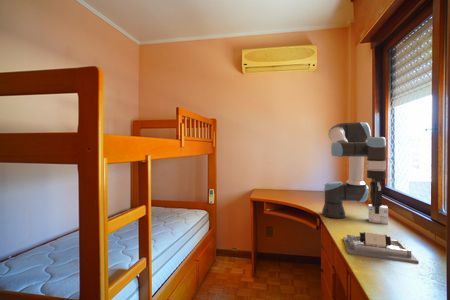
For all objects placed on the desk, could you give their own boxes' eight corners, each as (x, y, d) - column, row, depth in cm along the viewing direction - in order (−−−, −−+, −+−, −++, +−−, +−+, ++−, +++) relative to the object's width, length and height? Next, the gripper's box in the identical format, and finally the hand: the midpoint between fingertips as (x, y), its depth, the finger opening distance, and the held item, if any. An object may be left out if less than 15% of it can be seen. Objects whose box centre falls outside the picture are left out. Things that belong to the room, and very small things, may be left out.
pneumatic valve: (358, 232, 117) (360, 231, 107) (387, 235, 112) (391, 235, 102) (359, 244, 116) (360, 244, 106) (388, 248, 111) (392, 248, 100)
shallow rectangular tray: (346, 239, 121) (346, 234, 121) (401, 245, 113) (401, 240, 112) (350, 249, 109) (350, 243, 109) (411, 257, 101) (411, 251, 101)
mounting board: (342, 238, 124) (342, 237, 124) (402, 245, 115) (402, 243, 115) (348, 253, 106) (348, 251, 106) (418, 263, 97) (418, 261, 97)
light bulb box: (387, 222, 153) (387, 205, 153) (388, 225, 147) (388, 207, 147) (368, 219, 158) (368, 203, 158) (368, 222, 152) (368, 205, 152)
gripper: (364, 168, 118) (364, 215, 118) (370, 170, 106) (370, 223, 106) (381, 169, 115) (381, 217, 115) (389, 171, 103) (389, 225, 103)
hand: (376, 220), depth 111 cm, fingers closed
